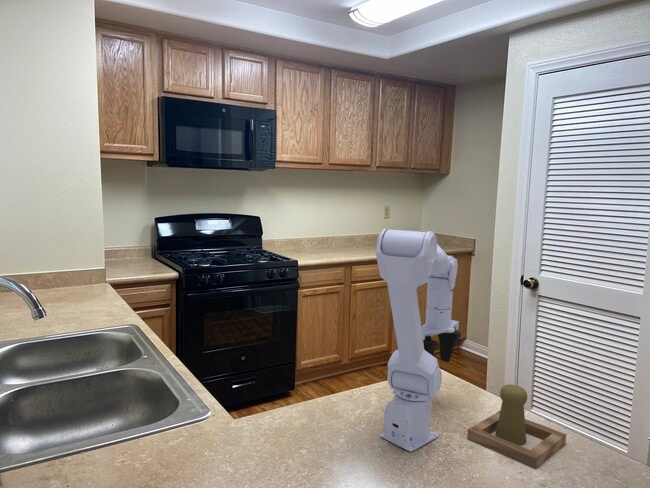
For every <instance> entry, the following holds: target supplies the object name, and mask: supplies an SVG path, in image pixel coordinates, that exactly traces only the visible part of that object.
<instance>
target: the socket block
mask: <svg viewBox="0 0 650 488" xmlns="http://www.w3.org/2000/svg"><path fill="white" fill-rule="evenodd" d="M499 415H500V410H499V411H496V412H495V413H494V414H492V415H490V416H489V417H487V418H485V419H483V420H482V421H479V422H478V423H476V424H475V425H473V426H471V427H469V428H468V429H467V436H466V439H467V440H469V441H471V442H473V443H476V444H478V445H480V446H483V447H484V448H488V449H490V450H492V451H494V452H497V453H498V454H501V455H503V456H506V457H508V458H510V459H512V460H515V461H517V462H520V463H521V464H524V465H526V466H528V467H531V468H532V469H537V468H538V467H539V466H541V465H542V464H543V463H544V462H546V461H547V460H548V459H549V458H551V456H553V455H554V454H555V453H557V452H558V450H560V449H561V448H562V447H564V445H566V443H567V433H565V432H561V431H558V430H556V429H554V428H550V427H548V426H545V425H543V424H540V423H537V422H534V421H532V420H529V419H526V418H525V429H526V435H527V434H528V435H529V436H533V437H536V438H538V439H539V440H540V439H541V440H542V441H541V442H539V443H538V444H536V445H535V446H534V447H532V448H531V449H529V448H526V447H523V446H522V445H521V446H519V445H517V444H514V443H512V442H509V441H507V440H504V439H502V438H500V437H497V436H495V434H493V433H495V432H496V429H497V424H498V419H499Z"/></svg>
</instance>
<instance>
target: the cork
mask: <svg viewBox="0 0 650 488" xmlns="http://www.w3.org/2000/svg"><path fill="white" fill-rule="evenodd" d="M499 396H500V400H501V406H500V410H499V411H500V415H499V419H498V424H497V429H496V430H495V432H494V435H495V436H497V437H500V438H502V439H504V440H507V441H509V442H512V443H514V444H517V445H519V446H521V447H522V446H524V445H526V443H527V433H526V429H525V419H526V417H525V416H526V415H525V405H526V403H527V401H528V392H527V391H526V389H525V388H523V387H522V386H520V385H517V384H511V383H509V384H505V385H503V386H501V389H500V390H499Z"/></svg>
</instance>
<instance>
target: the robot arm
mask: <svg viewBox="0 0 650 488" xmlns="http://www.w3.org/2000/svg"><path fill="white" fill-rule="evenodd" d="M375 255H376V256H375V257H376V261H377V262H376V263H377V267H378V272H379V277H380V278H381V279H383V281H385V282H386V283H387V284H386V285H387V292H388V297H389V303H390V307H391V308H390V309H391V314H392V320H393V326H394V331H395V332H394V333H395V338H396V345H397V349H396V350H394V351H393V352H392V353H391V356H390V358H389V360H388V362H387V377H386V378H387V384H388V385H389V388H390V389H392V394H393V395H394V396H393V398H392V399H391V400H390V401H388V403H387V404H386V405H385V407H384V412H383V413H384V414H383V415H384V417H383V432H381V433H379V435H380V437H381V438H382V439H384V440H387V442H391V443H392V444H394V445H396V446H398V447H400V448H402V449H404V450H406V451H407V452H414V451H415V450H417V449H419V448H421V447H423V446H424V445H426V444H428V443H430V442H432V441H433V440H435V439H437V438H438V437H439V434H438V433H437V432H434V431H432V430H431V416H432V415H431V414H432V399H435V397H436V396H438V394H439V393H440V390H441V386H442V385H441V384H442V373H443V372H442V370H441V368H440V366H439V363H438V362H439V361H438V358H436V357H435V356H434V354H435V350H436V347H437V346H438V344H439V357H440V361H444V362H445V363H450V361H451V358H452V354H453V352H454V349H455V347H456V345H457V343H458V341H459V339H461V336H462V333H461V332H460V331H459V326H460V325H459V323H460V321H458V320H455V319H452V310H453V297H454V295H453V294H454V292H453V291H454V288H455V286H456V279H457V274H458V260H457V258H454V256H453V255H448V254H447V253H446V252H445V251H444V250H443V249H442V248H441V246H440V244H439V243H438V239H437V235H436V234H435V232H433V231H418V230H417V231H416V230H402V229H390V228H383V229H382V230H381V232H380V233H379V235H378V238H377V241H376V247H375ZM426 283H427V286H426V306H425V307H426V308H425V322H424V324H423V325H422V321H421V314H420V308H419V301H418V299H419V298H418V293H417V290H418V289H417V288H418V287H421V286H422V285H424V284H426ZM457 330H458V331H457ZM436 335H437V337H438V341H437V340H433V338H432V337H433V336H436Z"/></svg>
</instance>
